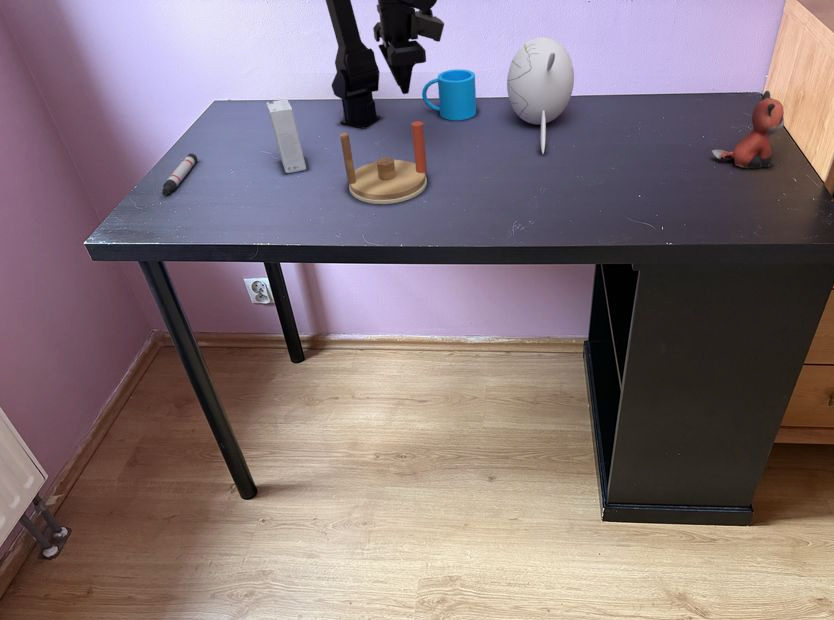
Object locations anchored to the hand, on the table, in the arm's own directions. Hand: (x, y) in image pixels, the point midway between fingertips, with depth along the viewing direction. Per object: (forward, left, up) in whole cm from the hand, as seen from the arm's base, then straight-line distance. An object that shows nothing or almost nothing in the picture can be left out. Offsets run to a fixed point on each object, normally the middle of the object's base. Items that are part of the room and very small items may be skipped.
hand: (403, 89), depth 126 cm
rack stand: (+5, -15, -12) cm, 20 cm away
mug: (-2, +20, -12) cm, 23 cm away
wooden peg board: (+5, -15, -11) cm, 19 cm away
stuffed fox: (+61, +21, -12) cm, 66 cm away
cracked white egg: (+20, +20, -12) cm, 31 cm away
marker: (-33, -30, -12) cm, 47 cm away
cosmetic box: (-17, -16, -12) cm, 26 cm away
